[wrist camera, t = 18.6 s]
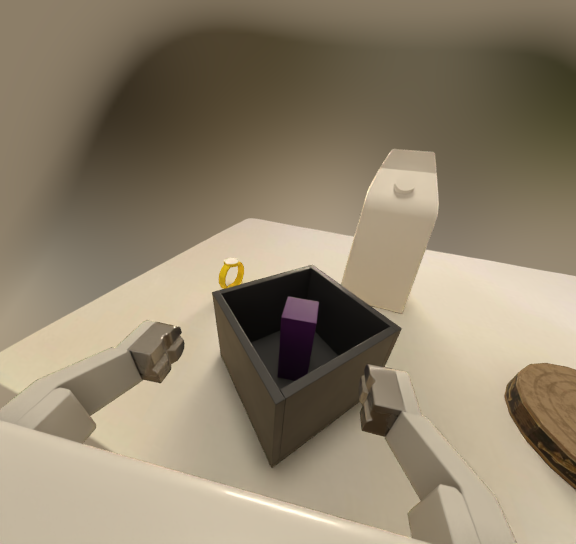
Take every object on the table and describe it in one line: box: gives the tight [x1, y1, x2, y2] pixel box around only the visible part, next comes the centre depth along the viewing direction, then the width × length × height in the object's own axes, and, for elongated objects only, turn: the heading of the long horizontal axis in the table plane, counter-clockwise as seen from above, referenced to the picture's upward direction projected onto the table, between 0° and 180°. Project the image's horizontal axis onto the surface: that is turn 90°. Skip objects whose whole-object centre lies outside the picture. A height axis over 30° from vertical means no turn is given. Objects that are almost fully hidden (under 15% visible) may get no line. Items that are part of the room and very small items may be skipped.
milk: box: [341, 149, 439, 314], centre depth 41 cm, size 12×12×26 cm
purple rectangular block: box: [278, 297, 319, 381], centre depth 26 cm, size 4×4×10 cm
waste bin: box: [212, 265, 402, 468], centre depth 27 cm, size 15×15×11 cm
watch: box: [219, 258, 244, 289], centre depth 43 cm, size 6×3×6 cm, turn 153°
